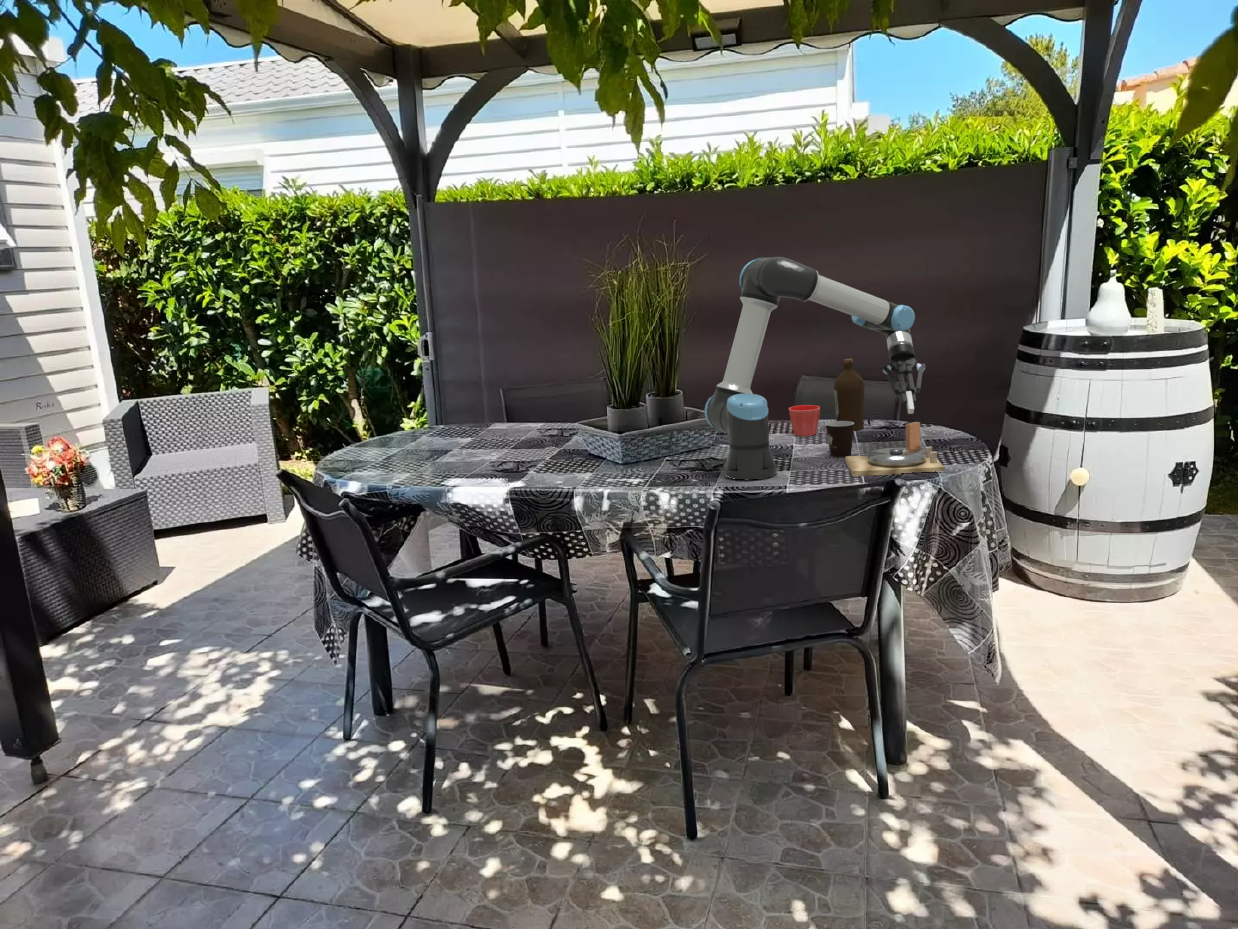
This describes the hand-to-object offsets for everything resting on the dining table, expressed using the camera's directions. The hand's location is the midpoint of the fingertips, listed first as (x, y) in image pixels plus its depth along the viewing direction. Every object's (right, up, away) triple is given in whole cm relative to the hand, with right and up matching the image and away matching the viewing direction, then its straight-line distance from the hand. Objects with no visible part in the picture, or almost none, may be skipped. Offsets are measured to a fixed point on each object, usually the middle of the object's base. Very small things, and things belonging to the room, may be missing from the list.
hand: (911, 411), depth 262 cm
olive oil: (-5, -3, +51) cm, 51 cm away
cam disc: (-7, -15, -9) cm, 18 cm away
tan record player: (-8, -17, -8) cm, 20 cm away
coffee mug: (-18, -13, +13) cm, 26 cm away
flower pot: (-22, -6, +48) cm, 53 cm away
